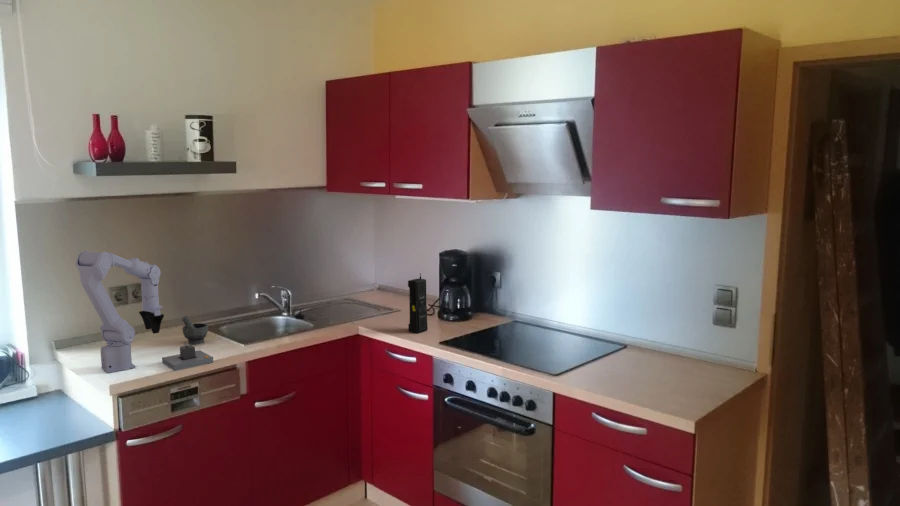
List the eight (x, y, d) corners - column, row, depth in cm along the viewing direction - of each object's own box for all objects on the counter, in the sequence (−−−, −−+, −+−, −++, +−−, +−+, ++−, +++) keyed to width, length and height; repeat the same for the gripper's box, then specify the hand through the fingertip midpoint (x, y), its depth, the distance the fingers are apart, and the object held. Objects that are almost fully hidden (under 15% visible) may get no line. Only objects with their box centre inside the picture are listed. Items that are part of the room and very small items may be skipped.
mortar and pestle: (196, 338, 274) (194, 310, 272) (213, 340, 270) (212, 312, 269) (175, 345, 264) (173, 316, 262) (193, 347, 260) (192, 318, 258)
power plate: (174, 370, 232) (173, 364, 232) (162, 362, 241) (161, 356, 241) (213, 362, 242) (212, 356, 241) (200, 355, 250) (199, 349, 250)
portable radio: (417, 334, 281) (416, 276, 277) (406, 332, 284) (406, 275, 281) (428, 330, 287) (428, 274, 283) (418, 328, 291) (417, 272, 287)
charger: (184, 365, 239) (183, 346, 238) (180, 362, 242) (179, 344, 241) (195, 362, 241) (194, 344, 240) (191, 360, 244) (190, 342, 243)
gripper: (168, 297, 245) (170, 332, 247) (154, 291, 255) (156, 325, 257) (148, 300, 240) (150, 336, 242) (135, 293, 251) (137, 328, 252)
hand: (152, 331), depth 249 cm, fingers open, 7 cm apart
